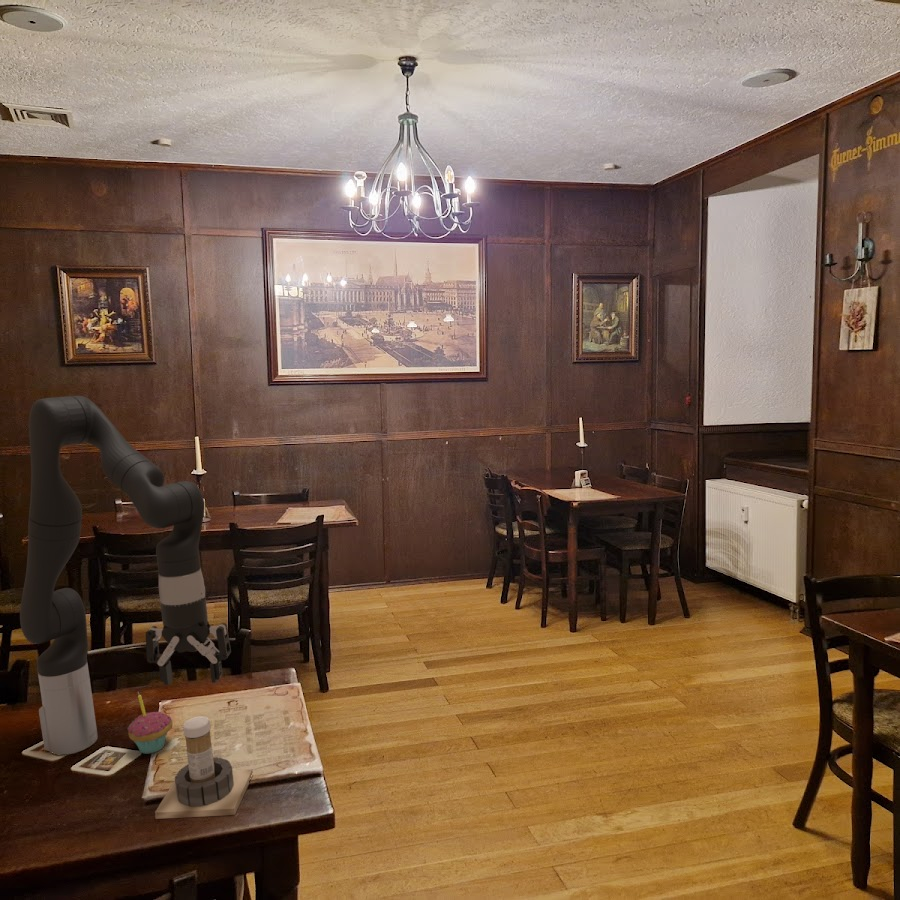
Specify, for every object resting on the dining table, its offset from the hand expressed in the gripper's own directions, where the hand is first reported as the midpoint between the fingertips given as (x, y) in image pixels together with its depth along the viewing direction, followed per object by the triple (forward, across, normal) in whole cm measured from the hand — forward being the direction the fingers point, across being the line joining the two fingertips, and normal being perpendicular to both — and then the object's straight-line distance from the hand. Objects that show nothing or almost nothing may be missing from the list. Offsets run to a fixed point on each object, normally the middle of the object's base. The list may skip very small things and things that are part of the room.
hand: (192, 682), depth 135 cm
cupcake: (+22, -17, +17) cm, 33 cm away
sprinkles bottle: (+21, 0, 0) cm, 21 cm away
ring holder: (+22, 0, 0) cm, 22 cm away
